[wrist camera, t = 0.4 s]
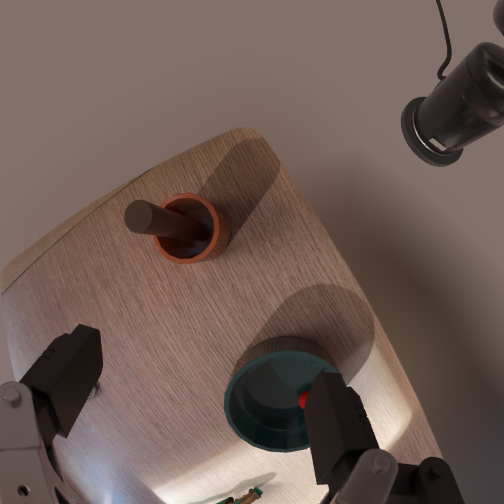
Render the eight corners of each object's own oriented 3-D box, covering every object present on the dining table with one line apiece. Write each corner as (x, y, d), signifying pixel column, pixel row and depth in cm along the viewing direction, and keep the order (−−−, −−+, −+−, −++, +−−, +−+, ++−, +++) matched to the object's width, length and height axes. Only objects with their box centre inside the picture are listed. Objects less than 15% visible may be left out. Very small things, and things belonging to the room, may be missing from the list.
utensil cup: (201, 193, 37) (182, 179, 29) (242, 230, 36) (233, 224, 28) (165, 235, 37) (139, 231, 29) (205, 272, 37) (187, 278, 29)
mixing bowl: (281, 312, 36) (283, 324, 30) (358, 378, 35) (371, 397, 29) (209, 386, 37) (199, 407, 31) (286, 442, 36) (287, 467, 30)
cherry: (307, 383, 35) (309, 392, 33) (321, 394, 35) (324, 403, 33) (293, 396, 35) (294, 406, 33) (307, 407, 35) (309, 416, 33)
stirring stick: (200, 219, 36) (137, 192, 18) (213, 231, 36) (159, 213, 18) (189, 233, 36) (117, 218, 18) (202, 245, 36) (138, 240, 18)
